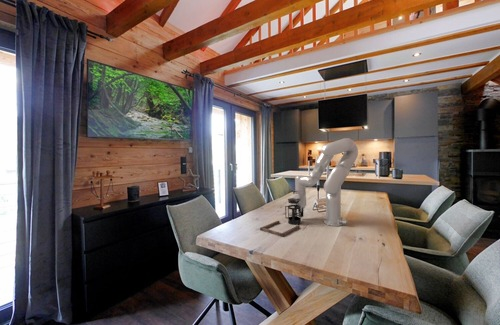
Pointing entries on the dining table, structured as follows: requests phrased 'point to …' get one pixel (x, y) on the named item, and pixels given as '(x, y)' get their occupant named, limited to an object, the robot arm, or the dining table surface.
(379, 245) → the dining table surface
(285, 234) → the walnut bay
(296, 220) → the french press
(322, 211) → the dining table surface
